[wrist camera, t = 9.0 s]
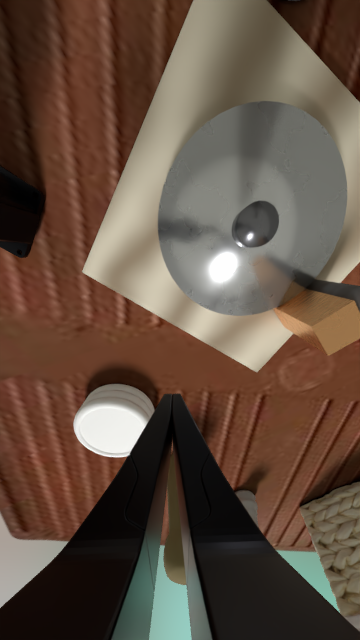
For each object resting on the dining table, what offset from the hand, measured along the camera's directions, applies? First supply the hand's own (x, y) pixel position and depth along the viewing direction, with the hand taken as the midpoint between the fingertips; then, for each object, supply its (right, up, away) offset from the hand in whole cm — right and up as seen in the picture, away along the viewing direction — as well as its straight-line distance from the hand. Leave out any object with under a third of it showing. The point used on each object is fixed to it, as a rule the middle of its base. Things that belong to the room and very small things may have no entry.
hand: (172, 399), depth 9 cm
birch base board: (+6, +13, +8) cm, 16 cm away
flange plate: (+7, +11, +6) cm, 15 cm away
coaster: (-8, -9, +16) cm, 20 cm away
